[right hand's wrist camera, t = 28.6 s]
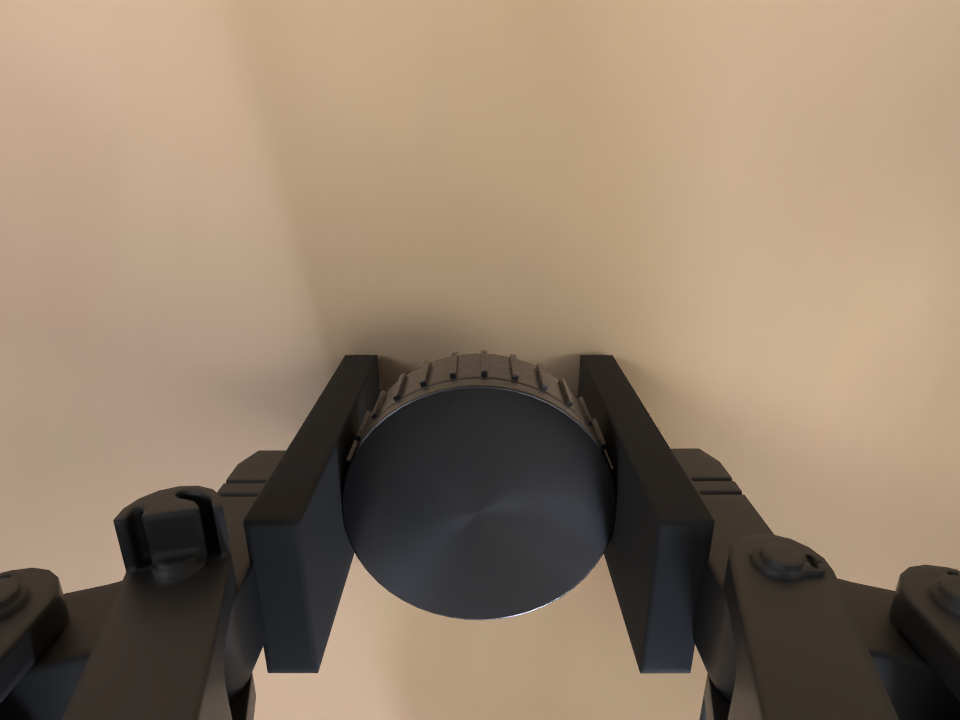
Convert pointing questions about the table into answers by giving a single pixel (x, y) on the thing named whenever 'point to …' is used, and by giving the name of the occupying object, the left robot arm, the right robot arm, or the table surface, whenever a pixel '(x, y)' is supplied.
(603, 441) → the lid
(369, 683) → the table surface
